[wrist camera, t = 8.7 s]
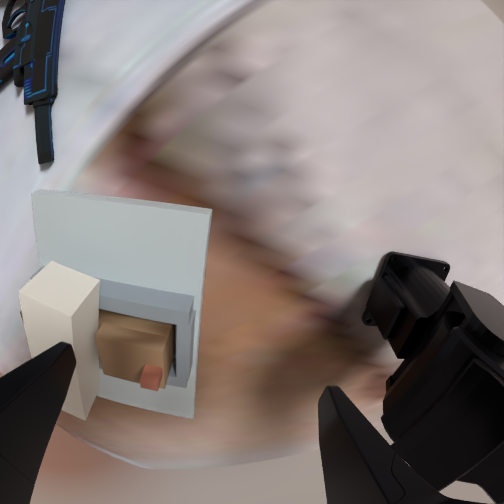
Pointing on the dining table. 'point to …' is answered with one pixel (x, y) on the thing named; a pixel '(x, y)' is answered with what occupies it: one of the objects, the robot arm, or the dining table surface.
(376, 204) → the dining table surface
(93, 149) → the dining table surface
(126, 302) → the jig board
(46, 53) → the gun
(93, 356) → the long cream prism
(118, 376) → the brown box with tab
